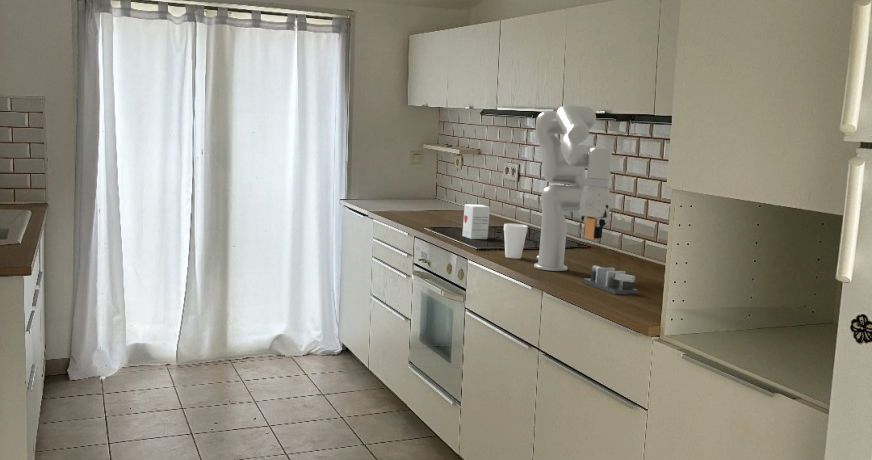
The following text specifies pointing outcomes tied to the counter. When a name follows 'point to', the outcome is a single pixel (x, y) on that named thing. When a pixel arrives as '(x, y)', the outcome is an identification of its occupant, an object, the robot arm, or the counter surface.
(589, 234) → the orange block
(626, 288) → the shaft stand
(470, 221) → the supplement box
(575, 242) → the counter surface
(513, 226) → the foam cup
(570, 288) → the counter surface
